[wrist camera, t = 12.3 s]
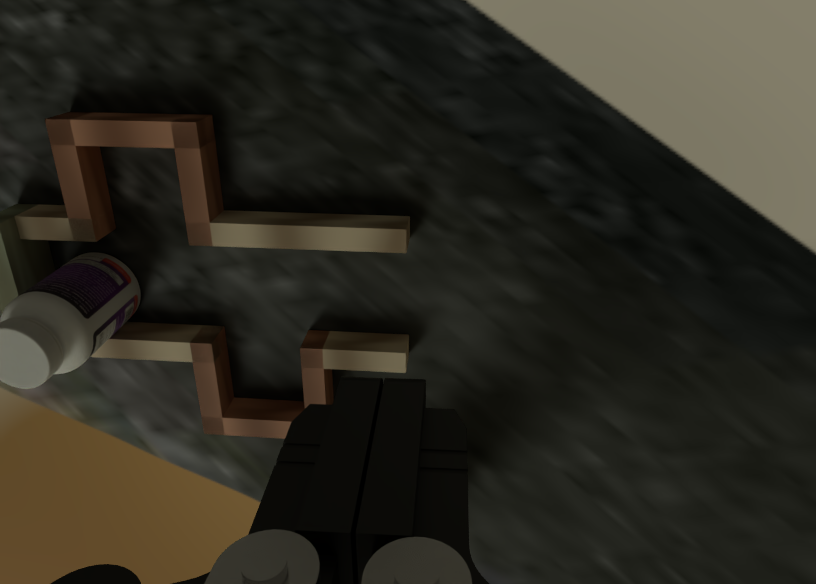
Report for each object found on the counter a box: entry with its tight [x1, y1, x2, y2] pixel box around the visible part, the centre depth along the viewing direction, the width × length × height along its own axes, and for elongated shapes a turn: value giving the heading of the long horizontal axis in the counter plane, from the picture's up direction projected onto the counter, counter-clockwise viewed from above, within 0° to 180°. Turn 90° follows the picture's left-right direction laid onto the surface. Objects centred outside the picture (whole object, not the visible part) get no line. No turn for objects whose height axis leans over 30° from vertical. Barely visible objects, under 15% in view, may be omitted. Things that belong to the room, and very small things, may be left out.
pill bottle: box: [0, 252, 141, 389], centre depth 39 cm, size 5×5×10 cm
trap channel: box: [0, 112, 410, 438], centre depth 41 cm, size 26×22×4 cm
